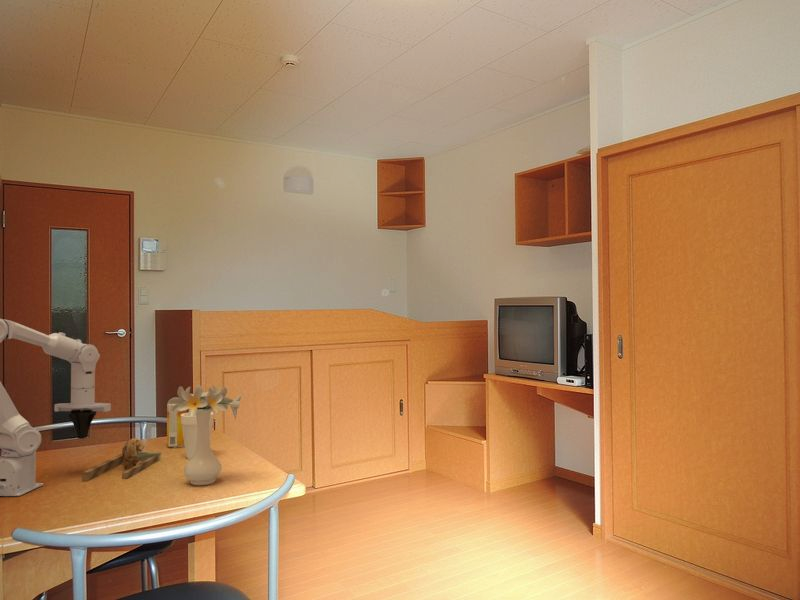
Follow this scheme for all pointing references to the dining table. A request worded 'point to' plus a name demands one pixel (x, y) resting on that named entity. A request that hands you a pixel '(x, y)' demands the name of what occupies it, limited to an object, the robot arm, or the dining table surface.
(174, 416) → the yellow box
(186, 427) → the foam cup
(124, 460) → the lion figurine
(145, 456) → the flange channel
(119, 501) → the dining table surface
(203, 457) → the flower vase
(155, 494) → the dining table surface
